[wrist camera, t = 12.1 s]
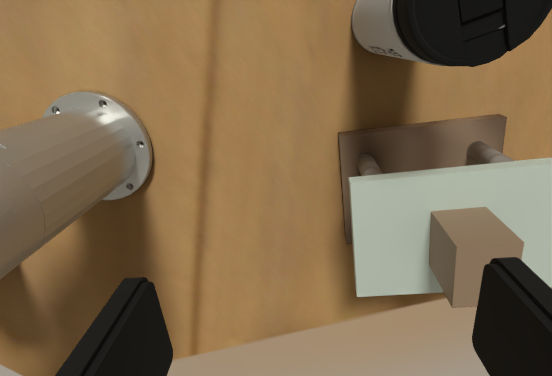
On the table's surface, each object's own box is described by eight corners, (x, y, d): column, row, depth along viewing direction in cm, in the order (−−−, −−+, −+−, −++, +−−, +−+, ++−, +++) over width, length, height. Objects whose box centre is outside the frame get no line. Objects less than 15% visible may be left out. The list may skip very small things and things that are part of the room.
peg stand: (345, 237, 41) (356, 296, 32) (337, 132, 36) (349, 165, 27) (486, 226, 39) (544, 286, 30) (498, 114, 34) (573, 142, 25)
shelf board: (355, 288, 31) (366, 342, 26) (348, 177, 27) (359, 213, 22) (544, 277, 29) (601, 334, 24) (569, 155, 25) (645, 189, 19)
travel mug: (411, -38, 30) (575, -159, 12) (426, 39, 32) (582, 39, 14) (341, -9, 31) (391, -77, 13) (360, 63, 34) (425, 91, 15)
